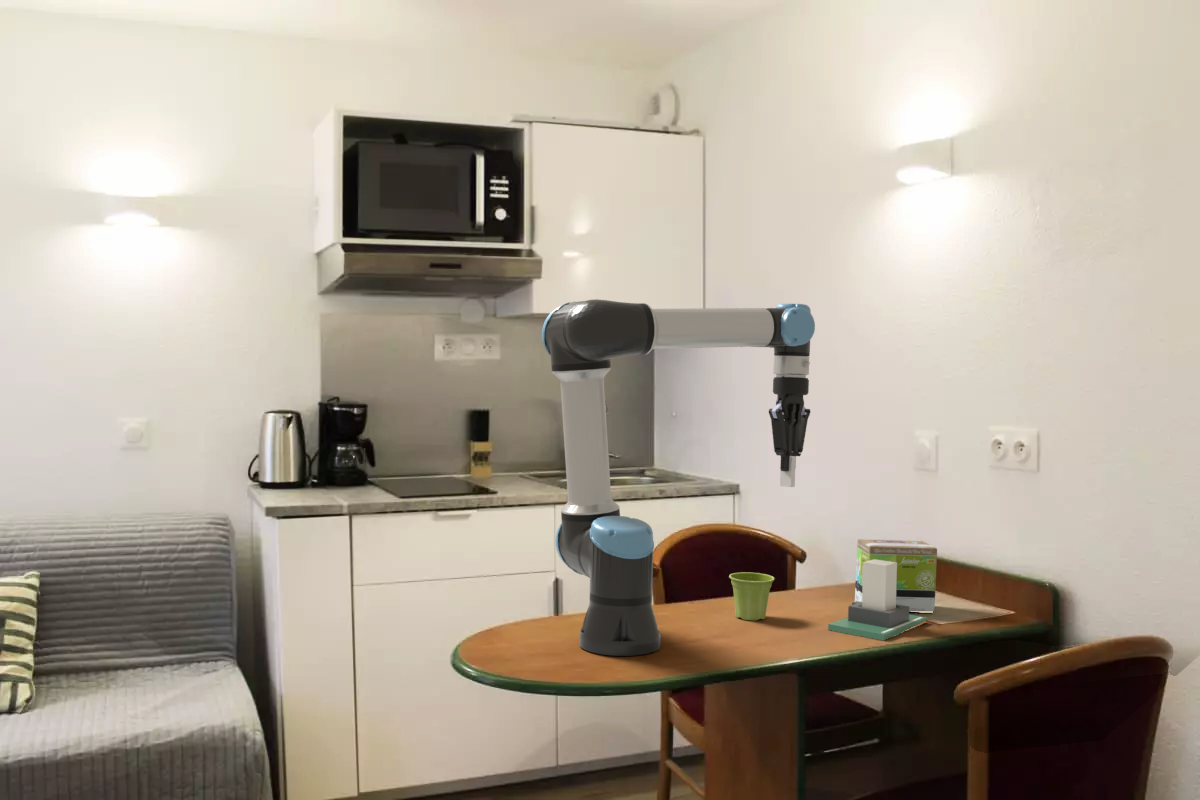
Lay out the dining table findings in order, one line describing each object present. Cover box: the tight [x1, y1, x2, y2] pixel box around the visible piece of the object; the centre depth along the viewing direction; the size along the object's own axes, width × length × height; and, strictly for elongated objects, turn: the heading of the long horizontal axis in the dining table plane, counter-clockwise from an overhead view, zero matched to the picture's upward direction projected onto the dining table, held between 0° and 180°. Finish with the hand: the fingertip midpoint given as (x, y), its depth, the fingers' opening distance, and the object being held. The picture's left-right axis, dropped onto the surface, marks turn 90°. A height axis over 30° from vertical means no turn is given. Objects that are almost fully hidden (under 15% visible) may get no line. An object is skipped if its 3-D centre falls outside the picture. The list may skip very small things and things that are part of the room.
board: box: [827, 601, 928, 642], centre depth 214 cm, size 20×12×4 cm, turn 139°
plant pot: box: [728, 571, 775, 621], centre depth 220 cm, size 9×9×9 cm
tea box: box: [854, 538, 938, 612], centre depth 231 cm, size 15×10×15 cm, turn 92°
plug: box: [862, 559, 897, 611], centre depth 214 cm, size 5×6×12 cm
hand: (787, 486), depth 225 cm, fingers closed
